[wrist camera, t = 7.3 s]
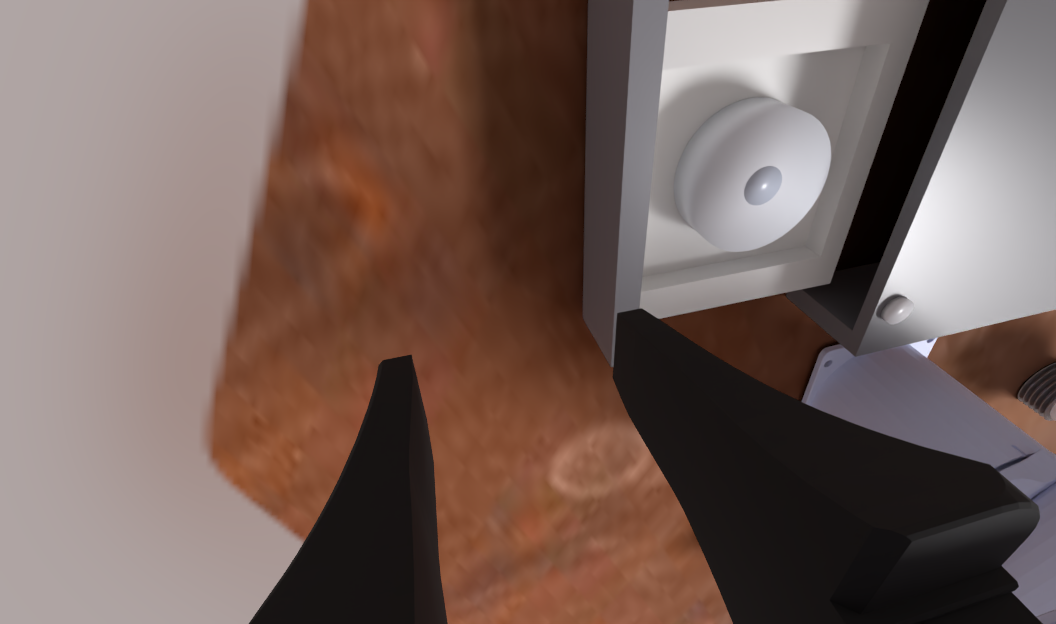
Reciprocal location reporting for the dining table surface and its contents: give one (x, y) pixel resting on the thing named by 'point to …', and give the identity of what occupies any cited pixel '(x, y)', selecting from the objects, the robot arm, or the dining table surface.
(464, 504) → the dining table surface
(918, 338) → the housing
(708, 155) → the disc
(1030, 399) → the light bulb
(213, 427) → the dining table surface
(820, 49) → the tray
